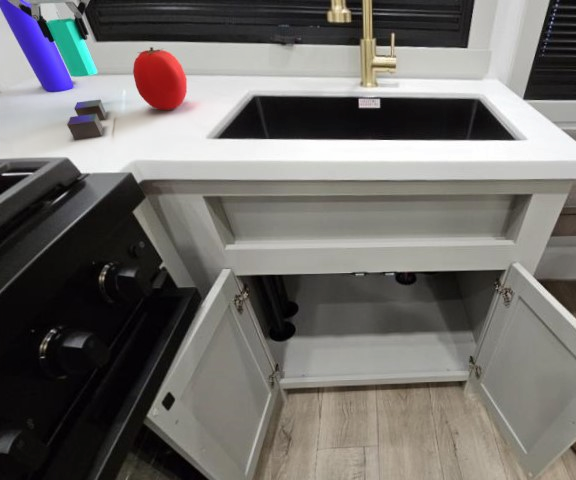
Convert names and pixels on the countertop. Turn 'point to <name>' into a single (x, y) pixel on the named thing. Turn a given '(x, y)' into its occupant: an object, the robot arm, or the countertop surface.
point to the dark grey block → (85, 126)
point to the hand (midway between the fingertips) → (68, 39)
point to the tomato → (160, 79)
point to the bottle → (37, 49)
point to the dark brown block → (91, 108)
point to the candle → (72, 47)
